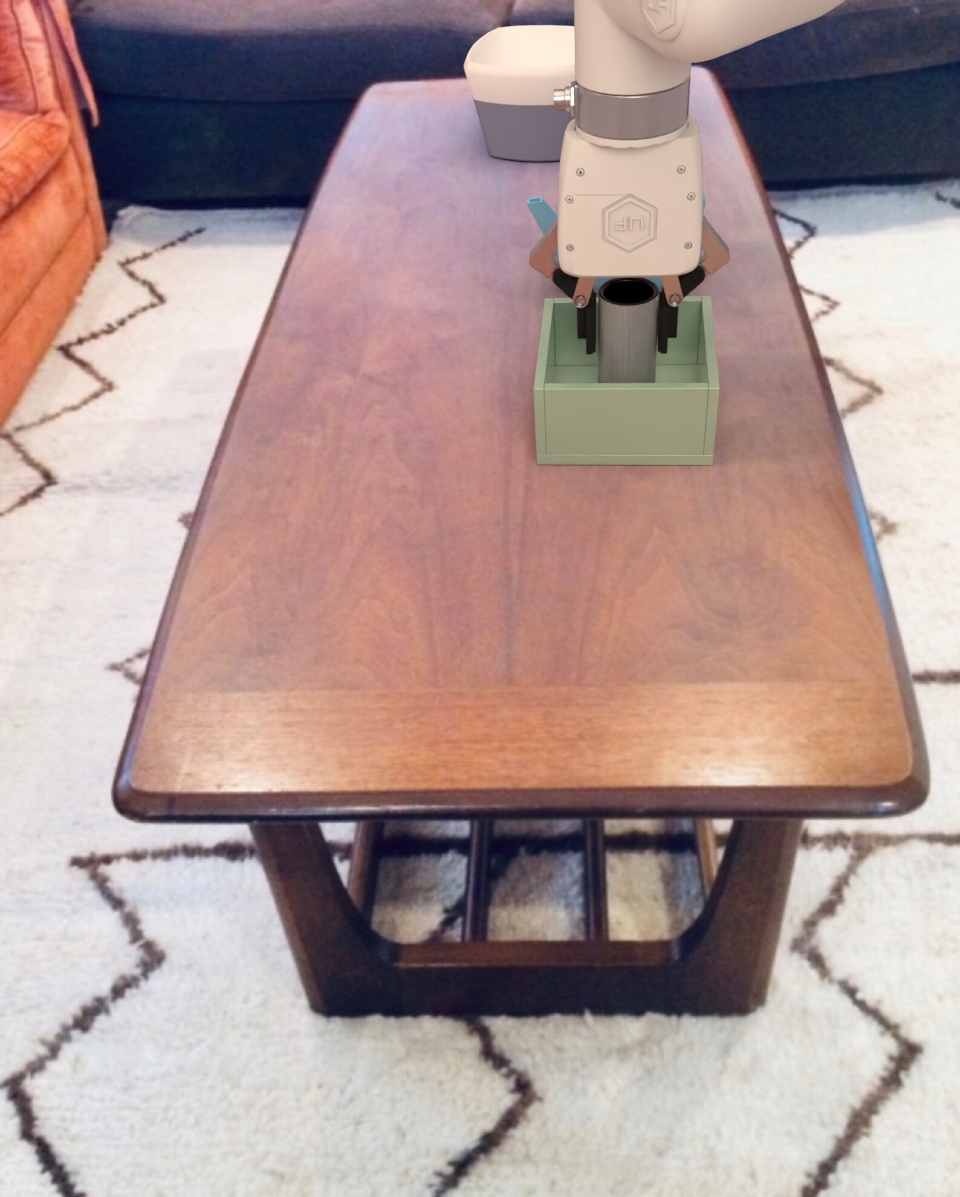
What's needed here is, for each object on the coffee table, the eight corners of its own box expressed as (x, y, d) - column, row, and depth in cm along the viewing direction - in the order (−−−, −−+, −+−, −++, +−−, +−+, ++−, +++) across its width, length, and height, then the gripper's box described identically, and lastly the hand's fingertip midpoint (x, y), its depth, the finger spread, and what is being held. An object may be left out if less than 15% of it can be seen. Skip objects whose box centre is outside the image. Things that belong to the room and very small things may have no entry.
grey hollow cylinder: (653, 389, 91) (658, 274, 84) (654, 421, 87) (659, 304, 80) (598, 390, 91) (598, 275, 84) (597, 421, 88) (597, 305, 81)
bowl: (457, 166, 129) (449, 67, 121) (494, 117, 139) (488, 22, 132) (585, 173, 125) (585, 70, 117) (613, 122, 135) (614, 24, 128)
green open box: (705, 369, 94) (711, 295, 89) (712, 465, 84) (719, 388, 80) (547, 370, 96) (544, 297, 91) (536, 465, 86) (533, 389, 81)
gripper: (499, 130, 71) (514, 372, 84) (767, 121, 69) (740, 370, 82) (509, 89, 77) (521, 321, 89) (758, 79, 75) (734, 319, 87)
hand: (626, 342), depth 85 cm, fingers open, 4 cm apart
